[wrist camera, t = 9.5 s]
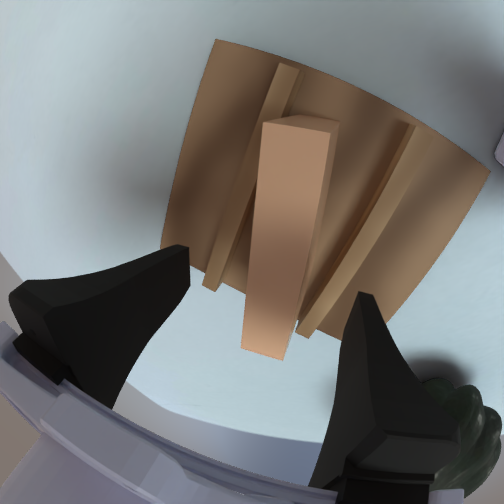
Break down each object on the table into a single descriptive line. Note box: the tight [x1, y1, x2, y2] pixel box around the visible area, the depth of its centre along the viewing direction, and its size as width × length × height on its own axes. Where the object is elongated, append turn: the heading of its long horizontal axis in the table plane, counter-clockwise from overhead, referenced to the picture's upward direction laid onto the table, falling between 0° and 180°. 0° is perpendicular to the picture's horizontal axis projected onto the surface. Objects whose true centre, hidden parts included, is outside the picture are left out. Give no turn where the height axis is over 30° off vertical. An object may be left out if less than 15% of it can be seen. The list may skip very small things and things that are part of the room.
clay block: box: [241, 114, 340, 361], centre depth 16 cm, size 2×12×8 cm, turn 175°
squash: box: [422, 378, 502, 498], centre depth 19 cm, size 14×15×15 cm
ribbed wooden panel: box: [160, 39, 491, 341], centre depth 19 cm, size 20×18×3 cm
